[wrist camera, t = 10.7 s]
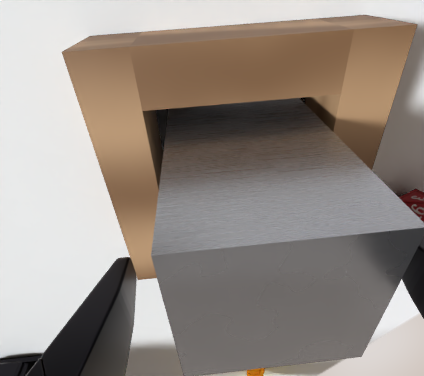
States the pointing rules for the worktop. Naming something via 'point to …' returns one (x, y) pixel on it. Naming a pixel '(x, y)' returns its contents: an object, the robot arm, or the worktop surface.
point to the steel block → (272, 238)
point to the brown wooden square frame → (227, 93)
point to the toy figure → (255, 372)
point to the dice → (415, 202)
